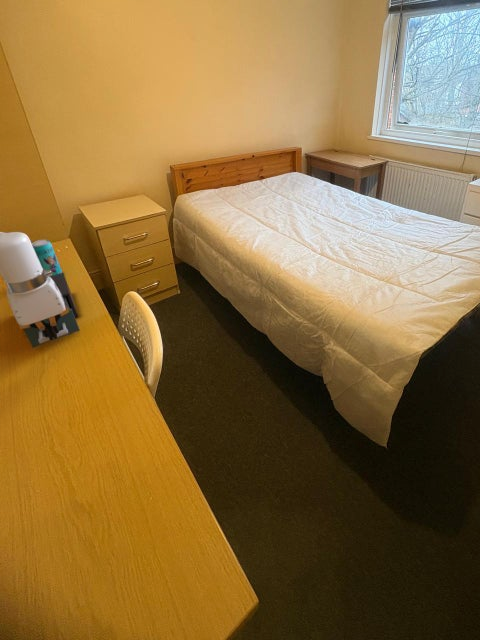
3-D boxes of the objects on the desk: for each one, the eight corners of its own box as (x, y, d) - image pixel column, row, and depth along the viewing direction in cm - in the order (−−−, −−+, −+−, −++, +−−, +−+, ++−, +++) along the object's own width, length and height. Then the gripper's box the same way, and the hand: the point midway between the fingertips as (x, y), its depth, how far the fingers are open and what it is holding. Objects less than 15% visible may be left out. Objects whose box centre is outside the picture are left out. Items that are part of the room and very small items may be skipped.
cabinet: (78, 317, 103) (69, 293, 99) (29, 334, 96) (17, 309, 92) (72, 295, 113) (63, 272, 109) (27, 309, 106) (16, 285, 101)
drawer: (82, 339, 93) (74, 319, 90) (33, 358, 87) (23, 337, 83) (73, 307, 106) (65, 288, 102) (30, 322, 99) (20, 302, 96)
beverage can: (52, 282, 120) (37, 247, 113) (41, 279, 121) (26, 244, 114) (66, 274, 124) (53, 240, 118) (56, 271, 126) (42, 237, 119)
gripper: (61, 264, 86) (83, 317, 94) (-12, 285, 77) (19, 341, 86) (64, 277, 80) (87, 331, 89) (-14, 300, 72) (19, 358, 81)
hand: (53, 336), depth 87 cm, fingers closed
